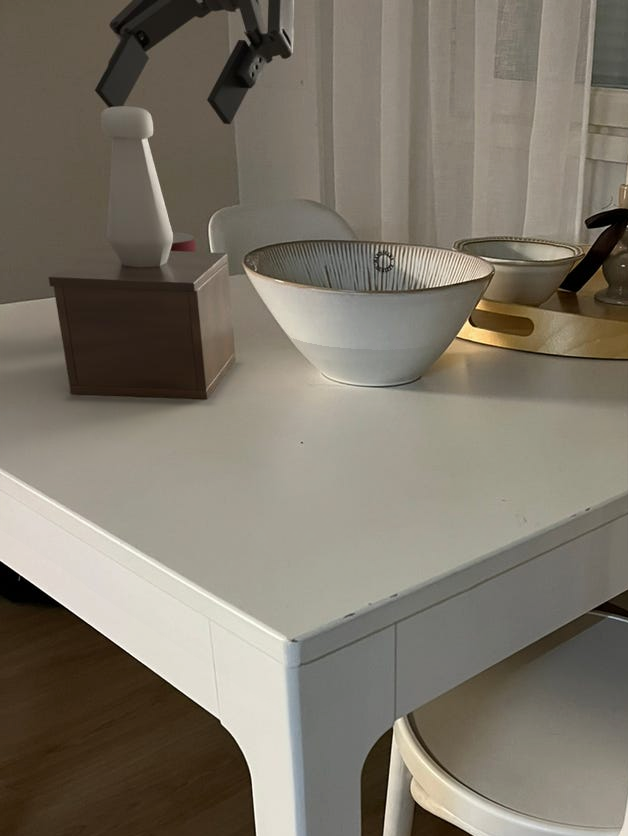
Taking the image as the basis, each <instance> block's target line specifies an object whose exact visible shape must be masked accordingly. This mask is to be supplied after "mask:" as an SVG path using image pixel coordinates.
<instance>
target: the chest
mask: <svg viewBox="0 0 628 836" xmlns="http://www.w3.org/2000/svg"><path fill="white" fill-rule="evenodd" d="M229 273H230V272H229V262H228V261H227V262H226V263H225V264H224V265H223V266H222V267H221V268H220V269H219V270H218V271H217V272H216V273H214V274H213V275H212V276H211V277H210V278H209V279H208V280H207V281H206V282H205V283H204V284H203V285H202V286H201V287H199V288H198V289H197V290H196V291H195V292H179V291H154V290H130V289H105V288H81V287H56V286H53V293H54V298H55V299H54V300H55V304H56V310H57V316H58V317H57V318H58V323H59V330H60V335H61V341H62V347H63V353H64V361H65V366H66V372H67V378H68V384H69V392H70V394H71V395H88V396H89V395H90V396H91V395H92V396H93V395H94V396H114V397H115V396H117V397H118V396H119V397H144V398H146V397H147V398H170V399H171V398H173V399H197V400H198V399H199V400H208V399H209V397H210V395H212V393H213V391H214V390H215V389H216V387H217V386H218V385H219V384H220V382H221V380H222V379H223V378H224V377H225V375H226V374H227V372H228V371H229V369H230V368H231V367H232V366H233V364H235V361H236V351H235V350H236V348H235V337H234V335H235V334H234V324H233V311H232V298H231V297H232V296H231V284H230V274H229Z"/></svg>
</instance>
